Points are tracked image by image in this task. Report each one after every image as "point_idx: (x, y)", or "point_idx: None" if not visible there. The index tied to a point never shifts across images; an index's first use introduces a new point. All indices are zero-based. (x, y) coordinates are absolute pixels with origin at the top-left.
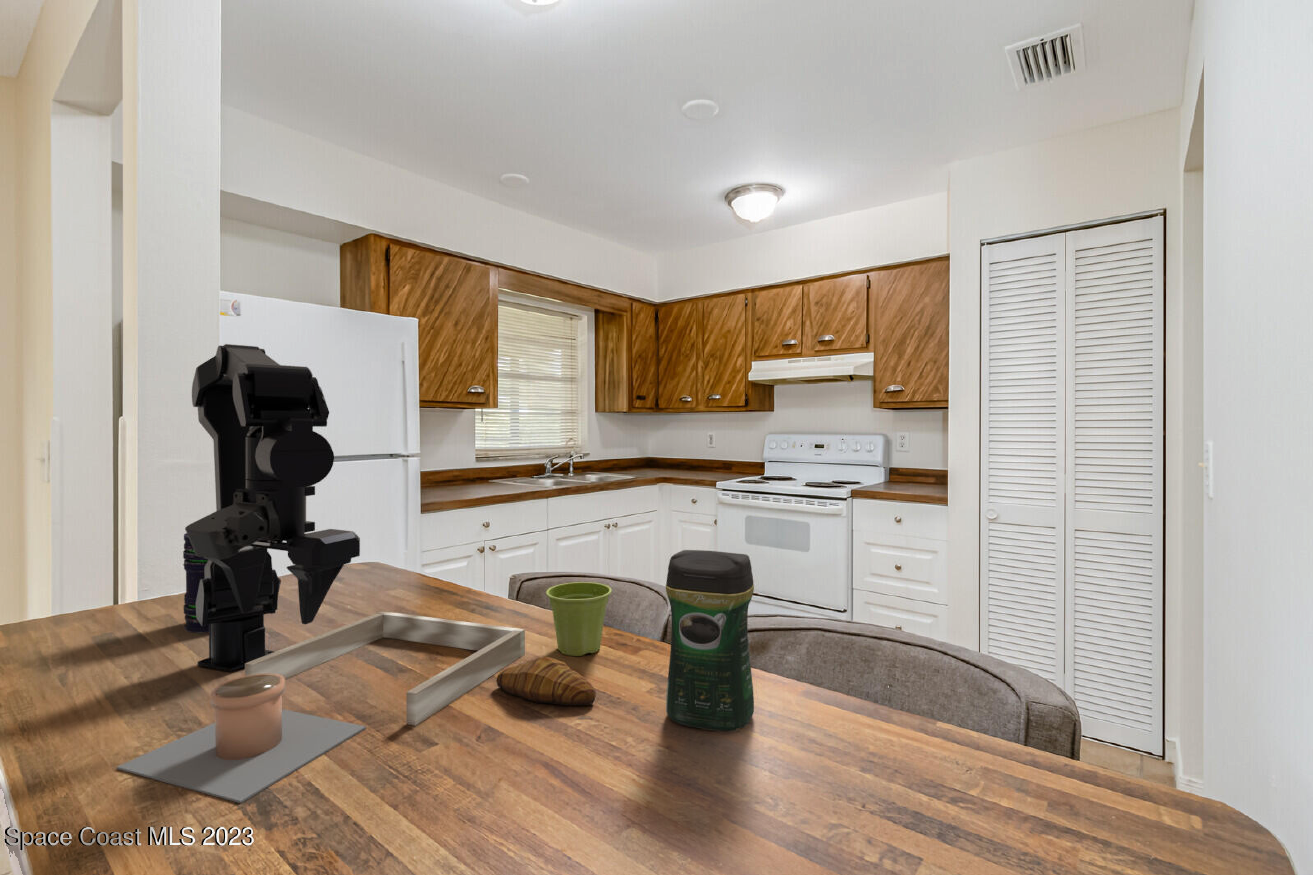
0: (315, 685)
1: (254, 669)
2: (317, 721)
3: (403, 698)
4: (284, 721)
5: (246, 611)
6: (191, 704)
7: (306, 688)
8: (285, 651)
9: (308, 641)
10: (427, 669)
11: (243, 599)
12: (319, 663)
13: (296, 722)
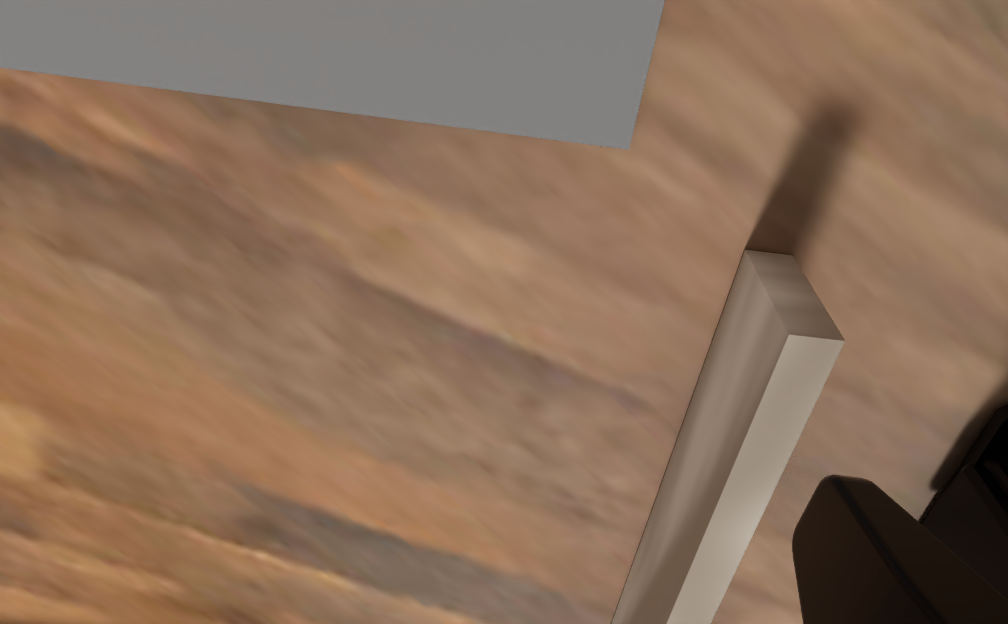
0: (512, 368)
1: (773, 326)
2: (149, 45)
3: (18, 336)
4: (313, 5)
5: (820, 501)
6: (986, 93)
7: (529, 338)
8: (729, 492)
9: (700, 591)
10: (175, 551)
11: (895, 611)
12: (648, 521)
13: (241, 9)
